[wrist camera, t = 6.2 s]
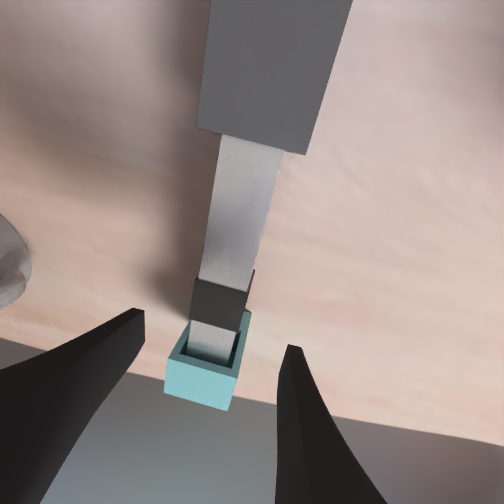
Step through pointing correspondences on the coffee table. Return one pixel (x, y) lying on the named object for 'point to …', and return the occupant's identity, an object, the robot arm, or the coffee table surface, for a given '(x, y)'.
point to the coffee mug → (12, 264)
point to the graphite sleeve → (269, 68)
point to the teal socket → (205, 371)
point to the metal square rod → (231, 245)
